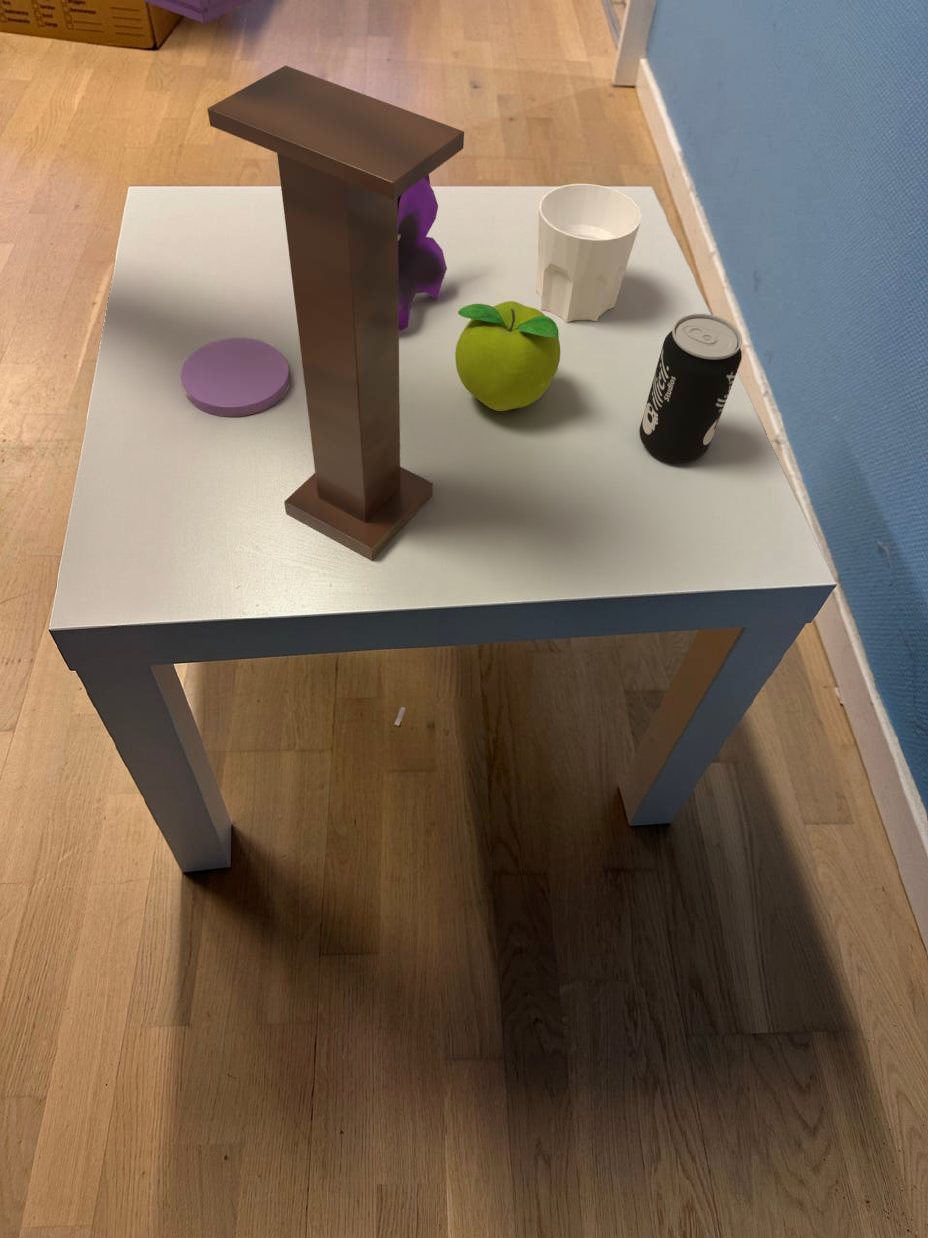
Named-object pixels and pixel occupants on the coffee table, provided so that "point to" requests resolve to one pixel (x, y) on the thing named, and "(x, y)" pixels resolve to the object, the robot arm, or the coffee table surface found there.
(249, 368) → the lilac plate
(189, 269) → the coffee table surface
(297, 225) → the brown wooden pedestal
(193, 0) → the purple dish
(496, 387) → the fruit
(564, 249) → the cup
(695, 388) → the beverage can
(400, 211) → the flower
